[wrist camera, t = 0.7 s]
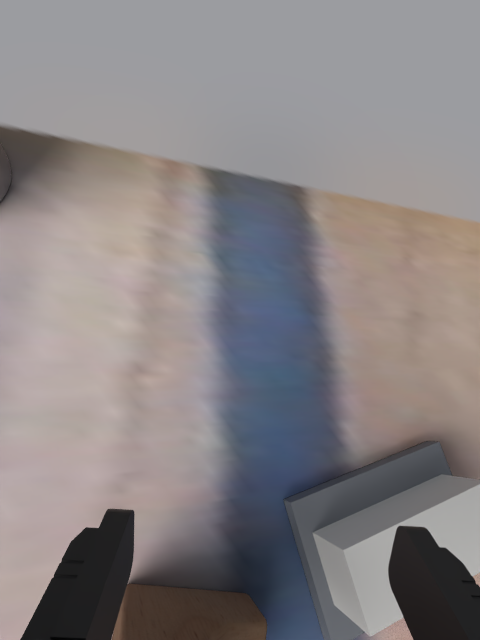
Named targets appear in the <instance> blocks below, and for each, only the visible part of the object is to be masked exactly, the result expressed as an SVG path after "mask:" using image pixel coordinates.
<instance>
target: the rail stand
mask: <svg viewBox="0 0 480 640" xmlns="http://www.w3.org/2000/svg"><path fill="white" fill-rule="evenodd" d="M283 500H284V503H285V507H286V510H287V514H288V517H289V521H290V524H291V528H292V531H293V534H294V538H295V541H296V545H297V548H298V552H299V555H300V558H301V562H302V565H303V569H304V572H305V576H306V579H307V583H308V586H309V589H310V593H311V596H312V600H313V603H314V607H315V610H316V613H317V617H318V620H319V624H320V627H321V631H322V634H323V638H324V640H352V639H354V638H356V637H358V636H359V635H361V634H363V633H364V632H366V633H367V634H368V635H369V636H370V637H371V636H373V635H374V634H376V633H378V632H379V631H381V630H383V629H385V628H386V627H388V626H390V625H391V624H393V623H395V622H396V621H398V620H400V619H402V618H403V615H402V612H401V610H400V608H399V605H398V603H397V601H396V599H395V596H394V594H393V592H392V589H391V586H390V582H389V576H388V566H389V561H390V556H391V552H392V547H393V542H394V538H395V533H396V529H397V528H398V526H416V527H425V528H427V529H428V531H429V532H430V533H431V535H432V536H433V538H434V540H435V541H436V543H437V544H438V546H439V547H444V548H447V549H448V550H449V551H450V552H451V553H452V554H453V555H455V556H456V557H457V558H458V559H459V560H460V561H461V562H462V563H463V564H464V565H465V567H466V568H467V570H468V571H469V573H470V574H471V575H472V577H473V576H474V575H476V574H478V573H480V480H479V479H472V478H465V477H458V476H452V474H451V471H450V468H449V466H448V463H447V461H446V458H445V455H444V453H443V450H442V448H441V445H440V442H435V441H426V442H424V443H421V444H419V445H416V446H414V447H411V448H409V449H407V450H404V451H402V452H399V453H397V454H394V455H392V456H389V457H387V458H384V459H382V460H379V461H377V462H375V463H372V464H370V465H367V466H365V467H362V468H360V469H357V470H355V471H352V472H350V473H347V474H345V475H342V476H340V477H338V478H335V479H333V480H330V481H328V482H325V483H323V484H320V485H318V486H315V487H313V488H310V489H308V490H305V491H303V492H301V493H298V494H296V495H293V496H291V497H288V498H286V499H283Z"/></svg>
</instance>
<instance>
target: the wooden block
mask: <svg viewBox="0 0 480 640" xmlns="http://www.w3.org/2000/svg"><path fill="white" fill-rule="evenodd" d="M266 632H267V622H266V619H265V618H264V616H263V615H262V613H261V612H260V610H259V609H258V607H257V606H256V605H255V603H254V602H253V600H252V599H251V597H250V596H249V595H248V594H246V593H237V592H225V591H213V590H201V589H189V588H177V587H165V586H152V585H140V584H128V585H127V587H126V590H125V594H124V597H123V600H122V604H121V607H120V611H119V614H118V617H117V621H116V624H115V628H114V633H113V637H112V640H266Z"/></svg>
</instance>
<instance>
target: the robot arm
mask: <svg viewBox="0 0 480 640" xmlns="http://www.w3.org/2000/svg"><path fill="white" fill-rule="evenodd" d="M11 174H12V171H11V166H10V162H9V160H8V157H7V155H6V153H5V151H4V149H3V147H2V144H1V142H0V201H1V200H2V199H3V197H4V196H5V194H6V193H7V191H8V188H9V186H10V183H11ZM133 553H134V511H133V510H123V509H108V510H107V511H106V513H105V515H104V518H103V520H102V522H101V524H100V527H99V528H85V529H84V530H83V531H82V532H81V533H80V534H79V535H78V536H77V537H76V538H74V539H73V540H72V541H71V543H70V545H69V547H68V549H67V550H66V552H65V554H64V556H63V558H62V562H61V563H60V564H59V566H58V568H57V570H56V572H55V574H54V578H52V580H51V582H50V584H49V585H48V587H47V589H46V591H45V593H44V595H43V597H42V599H41V601H40V603H39V605H38V607H37V609H36V611H35V613H34V615H33V617H32V619H31V620H30V622H29V624H28V626H27V628H26V630H25V632H24V634H23V636H22V638H21V639H20V640H111V638H112V634H113V631H114V628H115V624H116V621H117V617H118V614H119V611H120V607H121V604H122V600H123V597H124V594H125V590H126V587H127V583H128V580H129V577H130V573H131V568H132V562H133ZM388 576H389V582H390V586H391V589H392V592H393V594H394V596H395V599H396V601H397V603H398V605H399V608H400V610H401V612H402V615H403V617H404V619H405V621H406V624H407V626H408V628H409V630H410V633H411V635H412V637H413V639H414V640H480V587H479V586H478V585H476V583H475V580H474V578H473V577H472V575H471V574H470V573H469V571H468V570H467V568H466V567H465V565H464V564H463V563H462V562H461V561H460V560H459V559H458V558H457V557H456V556H455V555H453V554H452V553H451V552H450V551H449V550H448V549H447V548H444V547H439V546H438V544H437V543H436V541H435V540H434V538H433V536H432V535H431V533H430V532H429V531H428V529H427V528H425V527H416V526H398V528H397V529H396V533H395V538H394V542H393V547H392V552H391V556H390V561H389V566H388Z"/></svg>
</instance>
